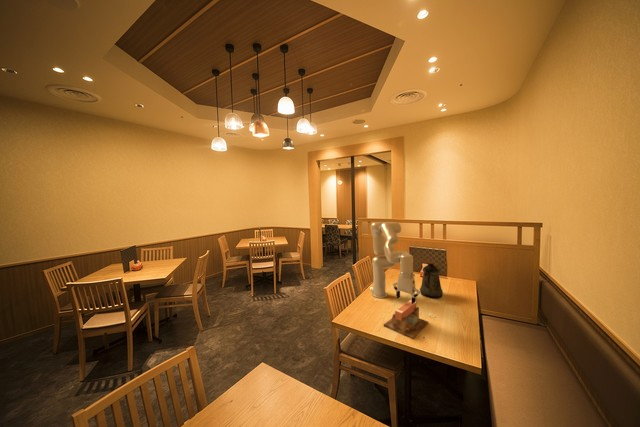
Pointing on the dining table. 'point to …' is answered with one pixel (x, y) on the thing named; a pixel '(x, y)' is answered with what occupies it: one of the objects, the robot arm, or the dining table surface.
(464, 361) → the dining table surface
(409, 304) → the orange banded bar
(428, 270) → the black backpack
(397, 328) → the jig
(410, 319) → the grey rectangular block
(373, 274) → the robot arm
